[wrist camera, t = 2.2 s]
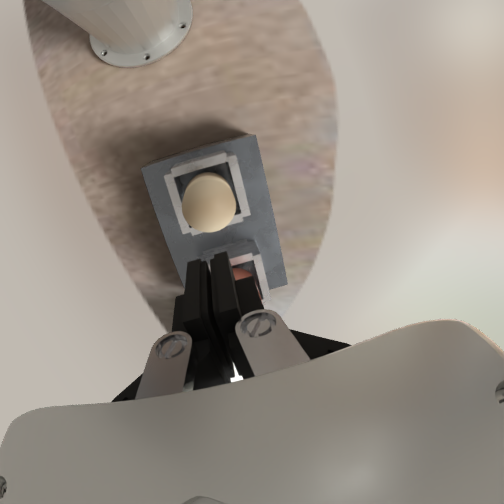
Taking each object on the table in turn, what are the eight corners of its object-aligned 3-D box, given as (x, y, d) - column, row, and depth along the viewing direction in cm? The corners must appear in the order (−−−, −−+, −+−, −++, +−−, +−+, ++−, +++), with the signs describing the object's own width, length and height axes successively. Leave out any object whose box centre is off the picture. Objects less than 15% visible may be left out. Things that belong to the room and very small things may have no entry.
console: (149, 162, 31) (132, 174, 23) (248, 133, 31) (262, 135, 23) (194, 289, 39) (193, 329, 31) (278, 265, 39) (296, 300, 31)
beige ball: (179, 179, 24) (174, 189, 20) (224, 166, 24) (228, 173, 21) (192, 222, 26) (190, 238, 22) (236, 209, 26) (241, 224, 23)
